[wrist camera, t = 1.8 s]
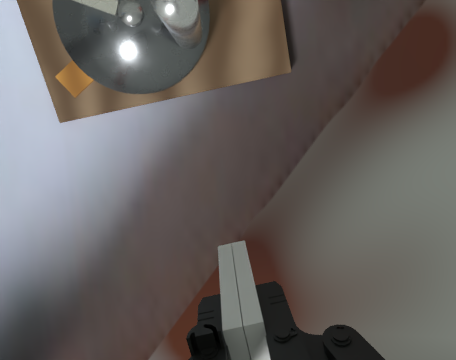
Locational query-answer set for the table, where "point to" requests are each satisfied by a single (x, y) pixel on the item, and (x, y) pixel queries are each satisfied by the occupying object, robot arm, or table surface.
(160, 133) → the table surface
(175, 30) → the wheel
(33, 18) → the walnut base board
